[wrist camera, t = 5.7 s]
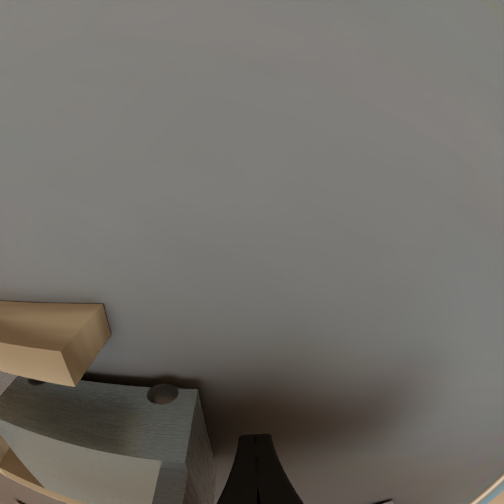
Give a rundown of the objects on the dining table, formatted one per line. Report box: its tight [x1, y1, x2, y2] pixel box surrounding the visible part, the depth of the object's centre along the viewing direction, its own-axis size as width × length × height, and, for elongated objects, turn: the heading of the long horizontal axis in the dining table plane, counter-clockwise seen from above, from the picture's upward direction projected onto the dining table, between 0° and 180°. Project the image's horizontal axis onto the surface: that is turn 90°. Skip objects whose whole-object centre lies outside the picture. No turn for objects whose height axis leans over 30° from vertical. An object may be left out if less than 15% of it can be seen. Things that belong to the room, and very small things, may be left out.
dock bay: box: [0, 301, 111, 504], centre depth 9 cm, size 11×12×3 cm
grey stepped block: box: [0, 376, 216, 504], centre depth 8 cm, size 8×6×6 cm
